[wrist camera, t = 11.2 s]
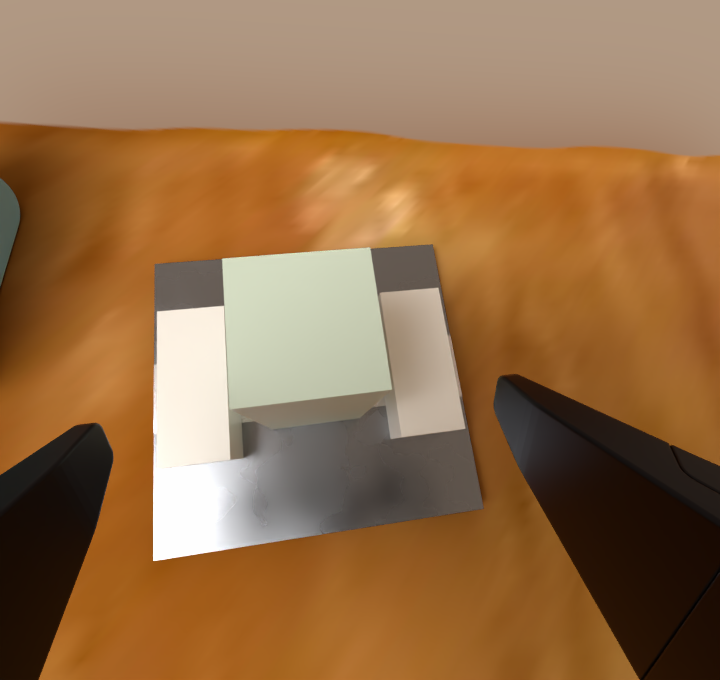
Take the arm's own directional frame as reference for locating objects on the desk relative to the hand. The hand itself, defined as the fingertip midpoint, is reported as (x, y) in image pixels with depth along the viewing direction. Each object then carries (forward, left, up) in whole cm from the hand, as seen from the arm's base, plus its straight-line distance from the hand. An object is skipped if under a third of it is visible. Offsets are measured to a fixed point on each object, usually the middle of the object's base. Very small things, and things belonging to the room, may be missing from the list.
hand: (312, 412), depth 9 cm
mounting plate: (+1, +3, -13) cm, 13 cm away
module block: (+1, +3, -12) cm, 12 cm away
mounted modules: (+1, +3, -13) cm, 13 cm away
